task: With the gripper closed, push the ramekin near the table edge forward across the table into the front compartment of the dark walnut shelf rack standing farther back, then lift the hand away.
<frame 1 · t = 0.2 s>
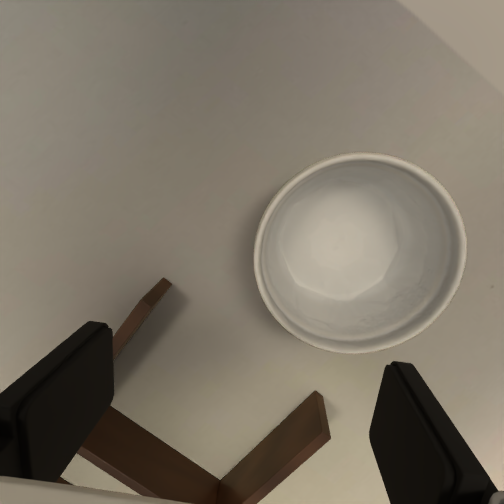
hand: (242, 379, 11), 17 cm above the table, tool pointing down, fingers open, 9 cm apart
rack: (151, 442, 34), on the table
ramekin: (336, 237, 27), on the table
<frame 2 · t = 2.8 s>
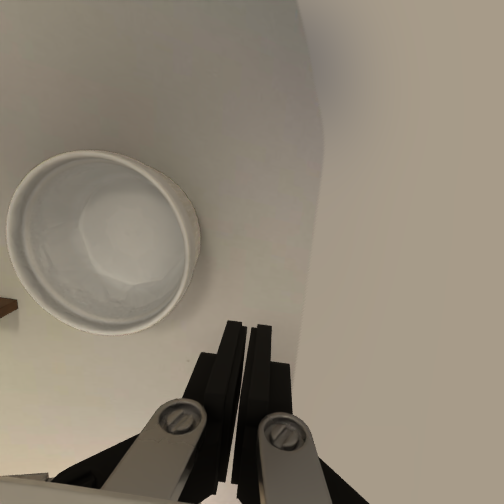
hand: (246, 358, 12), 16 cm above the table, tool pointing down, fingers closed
ramekin: (140, 229, 28), on the table
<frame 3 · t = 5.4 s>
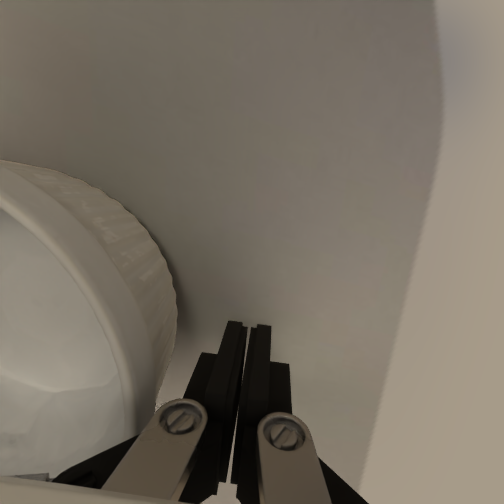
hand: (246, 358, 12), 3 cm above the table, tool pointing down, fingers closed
ramekin: (68, 291, 15), on the table, touching gripper
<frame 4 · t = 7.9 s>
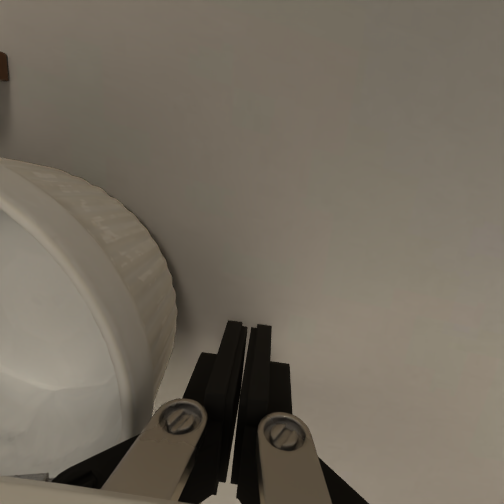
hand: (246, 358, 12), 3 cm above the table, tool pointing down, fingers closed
ramekin: (68, 289, 15), on the table, touching gripper
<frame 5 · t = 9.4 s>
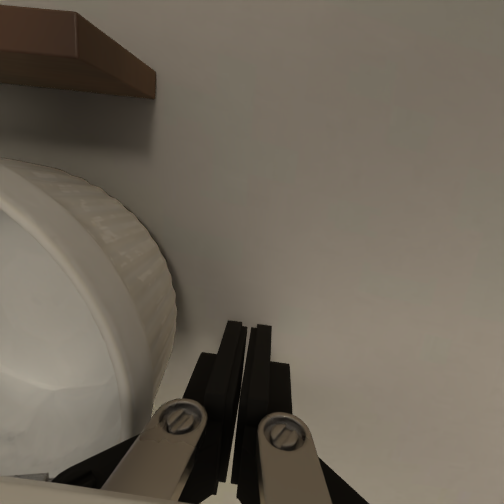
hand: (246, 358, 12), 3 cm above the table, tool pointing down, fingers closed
ramekin: (68, 289, 15), on the table, touching gripper
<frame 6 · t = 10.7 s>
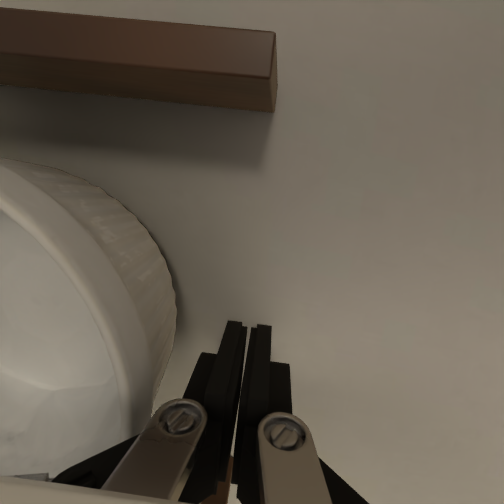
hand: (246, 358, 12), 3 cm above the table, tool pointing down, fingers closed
ramekin: (67, 289, 15), on the table, touching gripper
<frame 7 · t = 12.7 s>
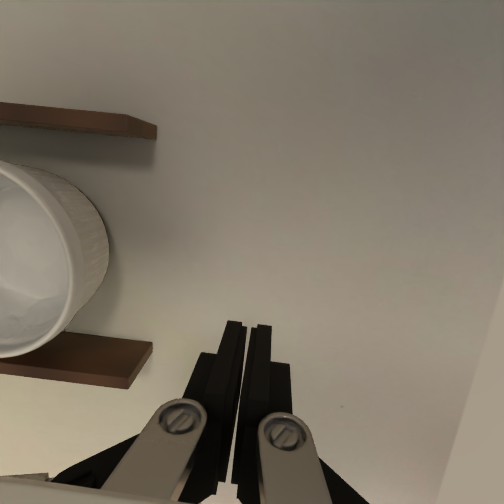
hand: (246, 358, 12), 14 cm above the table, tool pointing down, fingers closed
ramekin: (48, 239, 26), on the table
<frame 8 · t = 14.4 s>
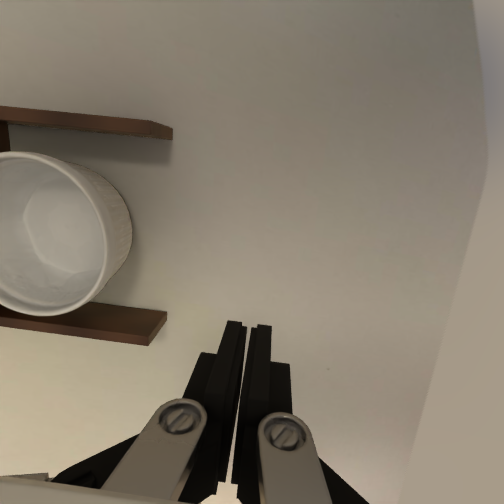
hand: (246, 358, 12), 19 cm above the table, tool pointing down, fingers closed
rack: (7, 213, 32), on the table
ramekin: (81, 223, 31), on the table
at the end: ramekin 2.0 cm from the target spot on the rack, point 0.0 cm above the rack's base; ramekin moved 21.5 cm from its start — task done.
